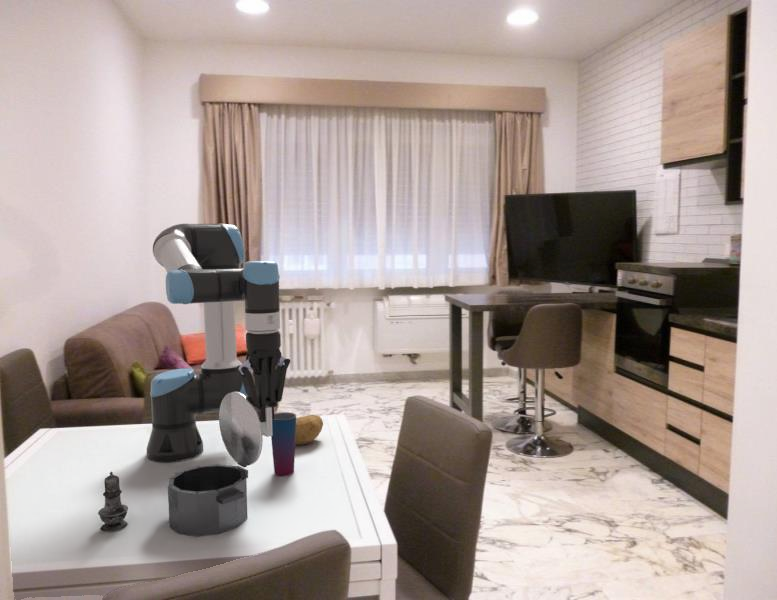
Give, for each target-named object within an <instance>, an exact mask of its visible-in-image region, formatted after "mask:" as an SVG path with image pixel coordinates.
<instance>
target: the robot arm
mask: <svg viewBox="0 0 777 600" xmlns="http://www.w3.org/2000/svg"><path fill="white" fill-rule="evenodd" d="M152 254H153V257H154V258H155V260H156V262H157V263H158V264H159V265H160V266H161V267H163V268H164V269H165V271H166V275H165V295H166V299H167V300H168V301H167V302H169V304H172V305H173V304H174V305H175V304H180V305H191V304H203V315H204V316H203V317H204V339H205V340H204V342H205V343H204V344H205V360H204V362H203V363H202V364H201V366H200V372H198V373H196V372H195V370H194V369H193V368H187V367H186V368H177V369H171V370H167V371H163V372H161V373H158V374H157V375H156V376H154V377H153V378H152V379H151V382H150V393H149V395H150V396H149V397H150V400H151V403H150V404H151V425H152V426H151V427H152V428H151V433H150V436H149V439H148V442H147V446H146V458H147V459H148V460H150V461H152V462H156V463H157V462H158V463H174V462H182V461H186V460H191V459H193V458H196V457H197V456H199V455H201V454H202V453H203V452H204V442H203V439H202V437H201V434H200V432H199V429H198V427H197V418H196V416H197V415H203V414H210V413H211V414H212V413H219V410H220V405H221V402H222V400H223V398H224V397H225V396H226V395H227V394H228V393H231V392H240V393H242V394H244V395H245V396H246V397H247V398H248V399H249V400H250V401H251V403H252V404H253V406H254V407H255V408H256V412H257V414H258V417H259V420H260V424H261V428H262V436H265V437H267V438H269V437H271V436H273V435H272V420H273V419H274V414H275V407H277V405H278V402H279V403H280V402H282V400H283V393H284V387H285V382H286V377H287V371H288V368H289V366H290V363H291V359H290V358H286V357H284V355H283V356H282V352H281V349H280V348H281V346H282V339H281V338H282V337H281V335H282V334H281V332H280V331H279V330H280V329H281V317H280V316H281V315H280V314H281V312H280V311H281V310H280V308H281V307H280V305H281V304H280V278H281V277H280V276H281V275H280V274H279V266H278V263H277V262H276V261H274V260H252V261H246V262H245V247H244V241H243V238H242V235H241V231H240V229H238V227H237V226H236V225H234V224H229V223H228V224H227V223H177V224H174V225H172V226H169V227H167V228H165V229H164V230H162V231H161V232H160V233H159V234H158V235H157V236H156V237H155V239H154V241H153V245H152ZM243 263H244V264H243ZM242 264H243V267H240V268H239V265H242ZM235 302H244V318H245V320H244V323H245V325H244V327H245V330H246V331H247V333H246V334H245V345H246V350H247V354H246V357H245V361H244V363H242V362H241V361H240V360H239V359H238V357H237V355H238V354H237V336H236V335H237V334H236V331H237V330H236V311H235V308H236V307H235Z"/></svg>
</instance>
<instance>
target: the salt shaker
mask: <svg viewBox="0 0 777 600" xmlns="http://www.w3.org/2000/svg"><path fill="white" fill-rule="evenodd" d="M109 474H110V475H108V476H106V477H105V478H104V482H103V483H104V492H103V493H102V496H103V497H104V506H103V507H102V508H100V509H99V510H98V512H97V515H98V516H99V519H100V520H101V522H102V523H104V524H102V525H101V526H100V528H99V529H100V531H101V532H103V533H114V532H118V531H121V530H124V529H125V528H126V527H127V526H128V525H129V524H128V521H127V520H124V519H125V518H126V516H127V514H128V510H129V506H128V505H126V504H122V499H121V494H122V493H123V491H122V490H121V489H120V485H121V484H120V476H118V475H115V474H114V472H113V471H110V472H109Z"/></svg>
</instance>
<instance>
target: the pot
mask: <svg viewBox="0 0 777 600" xmlns="http://www.w3.org/2000/svg"><path fill="white" fill-rule="evenodd" d="M168 479H169V480H168V483H167V496H168V497H167V498H168V499H167V501H168V502H167V503H168V522H169V524H168V527H169V528H170V529H171V530H173V531H174V532H176V533H177V534H178V535H183V536H193V537H203V536H212V535H213V536H214V535H219V534H222V533H225V532H228V531H230V530H233V529H236V528H238V527H240V525H241V524H242V523H243V522H245V521H246V520H247V518H248V490H247V489H248V488H247V486H248V485H247V482H248V481H247V479H249V470H248V469H246V468H244V467H242V466H240V465H232V464H231V465H230V464H221V463H217V464H216V463H214V464H206V465H198V466H194V467H191V468H187V469H184V470H180V471H177V472H175V473H174V475H173V476H171V477H169V478H168Z"/></svg>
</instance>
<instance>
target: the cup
mask: <svg viewBox="0 0 777 600" xmlns="http://www.w3.org/2000/svg"><path fill="white" fill-rule="evenodd" d="M296 418H297V414H296V413H293V412H285V411H284V412H281V411H280V412H276V413H275V412H274V419H273V420H272V435H273V436H270V437H271V448H272V449H271V450H272V460H273V472H274V474H275V476H280V477H286V476H287V477H288V476H291V475H293V474H294V472H295V457H296V456H295V453H296V444H295V435H296Z"/></svg>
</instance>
